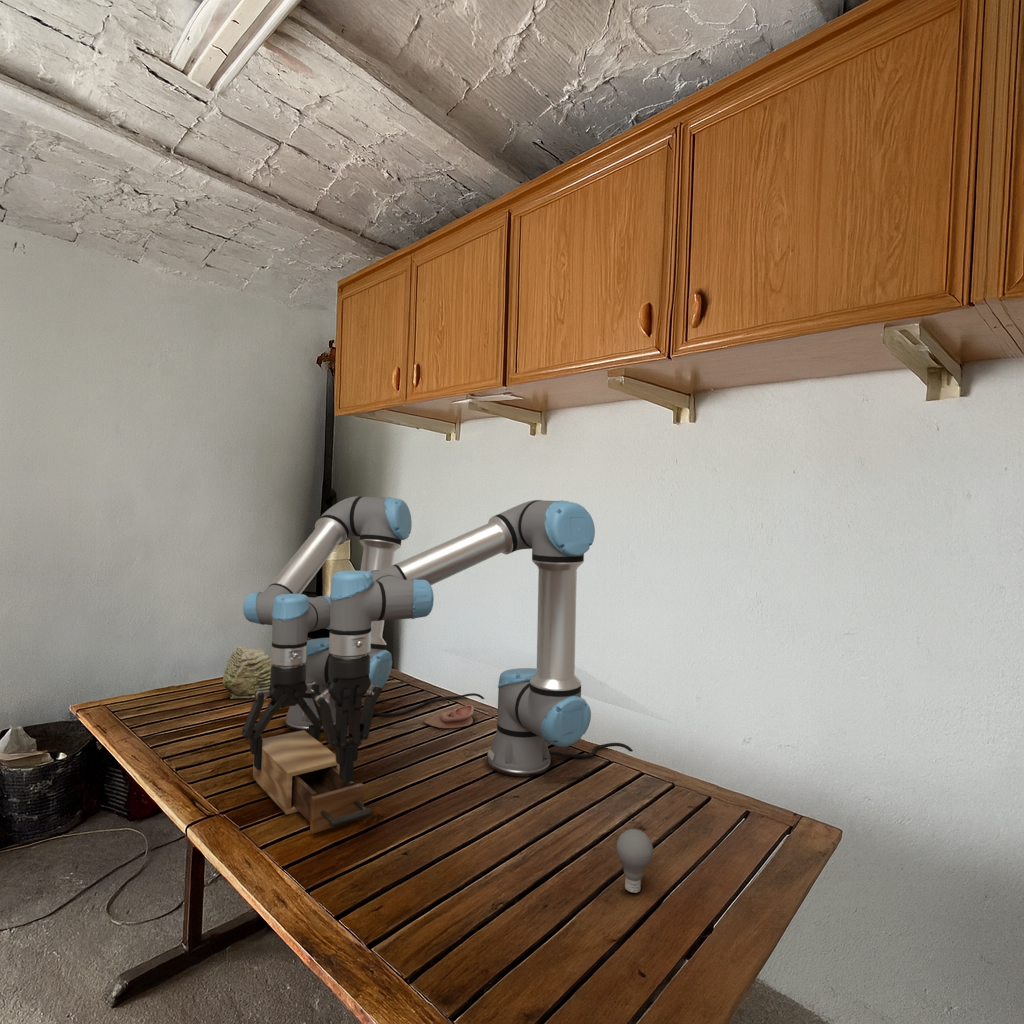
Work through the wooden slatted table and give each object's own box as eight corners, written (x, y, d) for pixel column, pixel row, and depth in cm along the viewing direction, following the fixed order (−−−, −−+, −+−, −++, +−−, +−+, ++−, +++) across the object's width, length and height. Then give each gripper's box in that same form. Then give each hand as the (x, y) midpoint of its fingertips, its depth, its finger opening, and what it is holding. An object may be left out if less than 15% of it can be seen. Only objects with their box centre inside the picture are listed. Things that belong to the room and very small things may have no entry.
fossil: (218, 695, 195) (220, 647, 195) (278, 685, 208) (279, 640, 207) (228, 703, 189) (230, 653, 188) (289, 692, 201) (290, 645, 201)
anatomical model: (421, 711, 177) (434, 699, 188) (420, 725, 177) (433, 712, 188) (466, 717, 174) (477, 704, 186) (466, 731, 174) (476, 717, 186)
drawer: (377, 830, 119) (378, 796, 119) (325, 847, 113) (326, 811, 113) (322, 781, 138) (323, 752, 138) (275, 794, 132) (276, 763, 132)
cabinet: (340, 799, 133) (341, 759, 133) (286, 814, 125) (287, 772, 125) (302, 765, 149) (304, 730, 148) (252, 777, 141) (253, 740, 141)
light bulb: (610, 879, 108) (613, 822, 108) (644, 879, 109) (647, 822, 109) (619, 902, 102) (622, 840, 102) (655, 901, 103) (658, 840, 103)
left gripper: (238, 675, 131) (234, 780, 131) (345, 660, 146) (342, 754, 146) (227, 667, 137) (224, 767, 137) (332, 654, 152) (328, 744, 152)
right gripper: (324, 663, 111) (320, 796, 112) (390, 653, 119) (387, 777, 120) (307, 654, 117) (304, 781, 117) (372, 645, 125) (368, 763, 126)
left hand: (285, 761), depth 142 cm, fingers closed on cabinet, 11 cm apart
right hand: (346, 779), depth 119 cm, fingers closed
